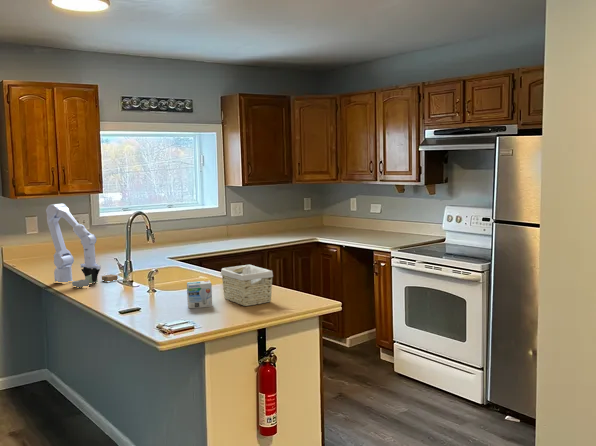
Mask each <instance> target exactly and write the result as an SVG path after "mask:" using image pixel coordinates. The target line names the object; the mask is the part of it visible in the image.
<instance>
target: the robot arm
mask: <svg viewBox="0 0 596 446" xmlns="http://www.w3.org/2000/svg"><path fill="white" fill-rule="evenodd" d="M45 213H46V222H47V227H48V230H49V232H50V233H49V234H50V235H51V239H52V243H53V247H54V250H55V252H54V253H53V264H54V266H55V267H56V268H55V269H54V271H53V276H54V282H55V281H58V282H68V281H73V273H72V272H73V269H72V266H73V264H74V262H75V258H74V256H73V254H72V252H71V251H70V250H69V249H67V247H66V244H65V239H64V236H63V234H62V230H61V226H60V223H59V221H60V219H61V218H63V219H64V220H65V222H67V223H68V224H69V225H70V226H71V227H72V228H73V229H72V231H73V232H74V234H75V235H76V236H77V237H78V238H79V240H80V244H81V245H82V249H83V256H84V260H83V261H84V263H80V268H81V272H82V274H83V275H84V277H85V276H89V275H91V276H92V282H96V281H97V279H98V275H99V273H100V271H101V267H102V266H101V265H99V264H98V263H97V261H96V259H97V258H96V247H95V245H96V243H97V237H96V235H95V234H93V233H91V232H89V230H88V229H86V226H85V225H84V224H82V223H79V222H78V221H77V220H76V218H75V217H74V216H73V215H72V213H71V211H70V209H69V207H68V206H67V205H66V204H65V203H63V202H60V203H53V204H52V203H51V204H48V206H47V207H46V209H45Z"/></svg>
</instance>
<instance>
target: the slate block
mask: <svg viewBox="0 0 596 446" xmlns="http://www.w3.org/2000/svg"><path fill="white" fill-rule="evenodd" d="M72 281H73V282H72V283H71V285H72V287H73V286H76V287H83V286H88V285H89V286H90V284H89V280H85V279H79V280H72Z"/></svg>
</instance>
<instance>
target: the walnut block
mask: <svg viewBox="0 0 596 446" xmlns="http://www.w3.org/2000/svg"><path fill="white" fill-rule="evenodd" d="M117 279H118V275H117V274H106V275H105V274H104V275H101V281H102V280H104V281H113V280H117ZM118 280H119V279H118Z"/></svg>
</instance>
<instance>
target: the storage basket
mask: <svg viewBox="0 0 596 446" xmlns="http://www.w3.org/2000/svg"><path fill="white" fill-rule="evenodd" d="M220 270H221V271H220V275H221V276H222V289H223V297H224V299H226V300H227V301H231V302H233V303H236V304H239V305H240V306H243V307H249V306H254V305H261V304H266V303H270V302H271V301H272V291H273V290H272V289H273V287H272V286H273V278H274V272H273V270H270V269H267V268H263V267H259V266H255V265H254V264H253V265H252V264H245V265H236V266H228V267H222V268H221V269H220Z"/></svg>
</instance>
